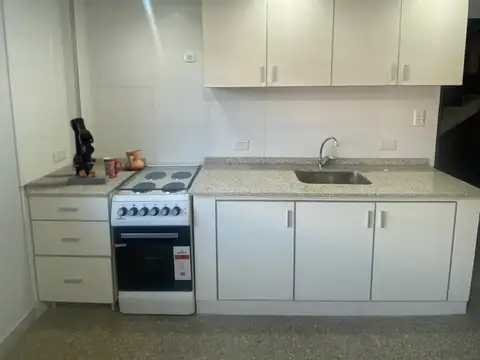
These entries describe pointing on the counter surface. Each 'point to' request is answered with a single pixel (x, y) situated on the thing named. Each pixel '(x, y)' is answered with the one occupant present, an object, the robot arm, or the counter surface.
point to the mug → (111, 166)
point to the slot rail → (88, 180)
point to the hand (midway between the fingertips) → (88, 175)
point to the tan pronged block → (92, 173)
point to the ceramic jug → (134, 160)
